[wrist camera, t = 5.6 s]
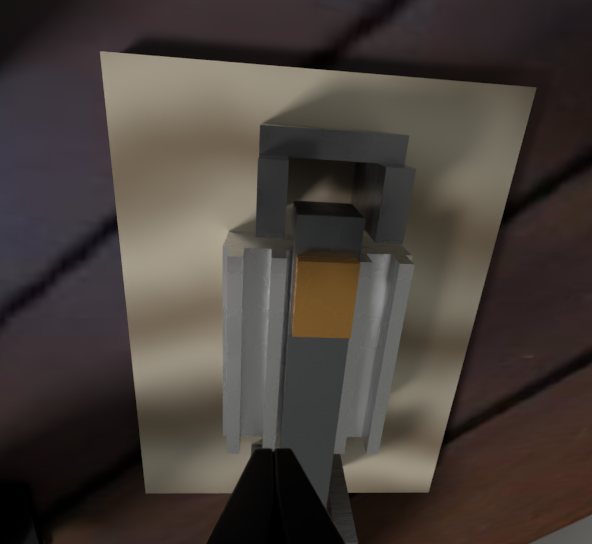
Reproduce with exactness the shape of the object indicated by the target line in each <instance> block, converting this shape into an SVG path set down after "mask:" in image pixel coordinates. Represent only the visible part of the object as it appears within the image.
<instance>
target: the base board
mask: <svg viewBox="0 0 592 544" xmlns="http://www.w3.org/2000/svg"><path fill="white" fill-rule="evenodd" d="M100 56H101V66H102V75H103V85H104V95H105V104H106V114H107V124H108V133H109V143H110V153H111V162H112V172H113V182H114V191H115V201H116V211H117V221H118V230H119V240H120V250H121V259H122V269H123V279H124V288H125V298H126V308H127V317H128V327H129V337H130V346H131V356H132V366H133V376H134V385H135V395H136V405H137V414H138V424H139V434H140V443H141V453H142V463H143V472H144V482H145V492H146V493H232V492H233V490H234V488H235V486H236V484H237V482H238V480H239V478H240V476H241V474H242V472H243V470H244V468H245V466H246V464H247V462H248V460H249V458H250V456H251V446H252V444H263V436H241V440H240V450H239V453H227V436H223V244H224V242H225V239H226V236H227V234H228V231H241V232H256V202H257V169H258V157H259V138H260V124H262V123H267V124H281V125H295V126H309V127H323V128H337V129H351V130H365V131H379V132H388V133H396V134H403V135H409V141H408V147H407V153H406V159H405V165H406V166H409V167H412V168H415V169H416V173H415V178H414V184H413V190H412V195H411V201H410V207H409V212H408V218H407V224H406V229H405V235H404V241H403V244H401V245H402V246H403V247H404V248H405V249H406V250H407V251H408V252H409V253H410V254H411V255H412V262H413V263H414V270H413V275H412V280H411V285H410V290H409V296H408V301H407V306H406V311H405V317H404V322H403V327H402V332H401V337H400V343H399V348H398V353H397V358H396V364H395V369H394V374H393V379H392V384H391V390H390V395H389V400H388V405H387V411H386V416H385V421H384V426H383V431H382V437H381V442H380V447H379V452H378V454H366V451H365V448H364V444H363V441H362V437H347V438H346V445H345V452H344V454H340V456H341V460H342V465H343V470H344V475H345V480H346V485H347V490H348V493H403V492H429V489H430V485H431V481H432V478H433V474H434V470H435V466H436V463H437V459H438V455H439V451H440V448H441V444H442V440H443V436H444V433H445V429H446V425H447V421H448V418H449V414H450V410H451V406H452V403H453V399H454V395H455V391H456V388H457V384H458V380H459V376H460V373H461V369H462V365H463V362H464V358H465V354H466V350H467V347H468V343H469V339H470V335H471V332H472V328H473V324H474V320H475V317H476V313H477V309H478V305H479V302H480V298H481V294H482V290H483V287H484V283H485V279H486V275H487V272H488V268H489V264H490V260H491V257H492V253H493V249H494V245H495V242H496V238H497V234H498V230H499V227H500V223H501V219H502V215H503V212H504V208H505V204H506V200H507V197H508V193H509V189H510V186H511V182H512V178H513V174H514V171H515V167H516V163H517V159H518V156H519V152H520V148H521V144H522V141H523V137H524V133H525V129H526V126H527V122H528V118H529V114H530V111H531V107H532V103H533V99H534V96H535V92H536V88H537V87H524V86H512V85H500V84H488V83H476V82H464V81H452V80H440V79H428V78H416V77H404V76H392V75H380V74H368V73H356V72H344V71H332V70H320V69H307V68H295V67H283V66H271V65H259V64H247V63H235V62H223V61H211V60H199V59H187V58H175V57H163V56H151V55H139V54H127V53H115V52H103V51H100ZM288 160H289V170H288V187H287V204H286V221H285V234H294V233H293V228H292V214H293V200H295V201H312V202H330V203H348V204H351V198H352V190H353V182H354V173H355V165H356V162H352V161H337V160H321V159H306V158H290V157H288ZM363 238H371V237H370V236H369V235H368V234H367V232H366V231H365V230H364V231H363ZM279 445H280V436H276V441H275V448H279Z"/></svg>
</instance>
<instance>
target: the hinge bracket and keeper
mask: <svg viewBox="0 0 592 544" xmlns="http://www.w3.org/2000/svg"><path fill="white" fill-rule="evenodd" d="M408 141H409V135H403V134H396V133H388V132H379V131H365V130H351V129H337V128H323V127H309V126H295V125H281V124H267V123H262V124H260V138H259V157H258V169H257V202H256V235H255V237H262V238H282V239H284V238H285V221H286V204H287V187H288V170H289V160H288V157H290V158H306V159H321V160H337V161H352V162H356V165H355V173H354V182H353V190H352V198H351V204H352V205H353V206H354V207H355V208H356V209H357V210H358V211H359V212H360V213H361V214H362V215H363V216H364V217H365V224H364V230H365V231H366V232H367V234H368V235H369V236H370V237H371V238H372V240H373V241H374V242H375V243H386V244H403V241H404V235H405V229H406V224H407V218H408V212H409V207H410V201H411V195H412V190H413V184H414V178H415V173H416V169H415V168H412V167H409V166H406V165H405V159H406V153H407V147H408ZM256 448H262V444H252V446H251V454H252V452H253V451H254V449H256ZM326 510H327V511H328V513H329V515H330V517H331V518H332V520H333V522H334V524H335V525H336V527H337V529H338V531H339V532H340V534H341V536H342V538H343V540H344V541H345V543H346V544H358V539H357V535H356V530H355V525H354V520H353V515H352V510H351V505H350V500H349V495H348V490H347V485H346V480H345V475H344V470H343V465H342V460H341V456H340V454H334V455H333V462H332V470H331V477H330V485H329V492H328V499H327V507H326Z"/></svg>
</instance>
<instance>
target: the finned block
mask: <svg viewBox="0 0 592 544" xmlns="http://www.w3.org/2000/svg"><path fill="white" fill-rule="evenodd" d="M255 235H256V232H241V231H228V234H227V236H226V239H225V242H224V244H223V436H227V453H239V450H240V440H241V436H263V444H262V448H271V449H272V450H274V449H275V441H276V436H280V430H281V416H282V401H283V386H284V371H285V356H286V341H287V326H288V312H289V297H290V282H291V267H292V252H293V237H294V234H285V238H284V239H282V238H262V237H255ZM359 262H360V264H361V265H360V272H359V280H358V287H357V294H356V302H355V309H354V316H353V324H352V331H351V338H349V343H348V350H347V358H346V365H345V373H344V380H343V388H342V395H341V403H340V410H339V417H338V425H337V432H336V440H335V447H334V454H344V452H345V445H346V438H347V437H362V441H363V444H364V448H365V451H366V454H378V452H379V447H380V442H381V437H382V431H383V426H384V421H385V416H386V411H387V405H388V400H389V395H390V390H391V384H392V379H393V374H394V369H395V364H396V358H397V353H398V348H399V343H400V337H401V332H402V327H403V322H404V317H405V311H406V306H407V301H408V296H409V290H410V285H411V280H412V275H413V270H414V263H413V262H412V255H411V254H410V253H409V252H408V251H407V250H406V249H405V248H404V247H403V246H402V245H401V244H386V243H375V242H374V241H373V240H372V238H362V246H361V253H360V261H359Z"/></svg>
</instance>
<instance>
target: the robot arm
mask: <svg viewBox="0 0 592 544" xmlns="http://www.w3.org/2000/svg"><path fill="white" fill-rule="evenodd" d="M0 544H43V540H42V536H41V532H40V528H39V524H38V520H37V517H36V513H35V509H34V505H33V501H32V497H31V493H30V489H29V487H27V486H26V485H24V484H0ZM207 544H346V543H345V541H344V540H343V538H342V536H341V534H340V532H339V531H338V529H337V527H336V525H335V524H334V522H333V520H332V518H331V517H330V515H329V513H328V511H327V510H326V508H325V506H324V504H323V503H322V501H321V499H320V497H319V496H318V494H317V492H316V490H315V489H314V487H313V485H312V483H311V482H310V480H309V478H308V476H307V475H306V473H305V471H304V469H303V468H302V466H301V464H300V462H299V461H298V459H297V457H296V455H295V453H294V452H293V450H292V449H290V448H275V449H274V450H272V449H271V448H256V449H254V451H253V452H252V454H251V456H250V458H249V460H248V462H247V464H246V466H245V468H244V470H243V472H242V474H241V476H240V478H239V480H238V482H237V484H236V486H235V488H234V490H233V492H232V494H231V496H230V498H229V500H228V502H227V504H226V506H225V508H224V510H223V512H222V514H221V516H220V518H219V520H218V522H217V524H216V526H215V528H214V530H213V532H212V534H211V536H210V538H209V540H208V542H207Z"/></svg>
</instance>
